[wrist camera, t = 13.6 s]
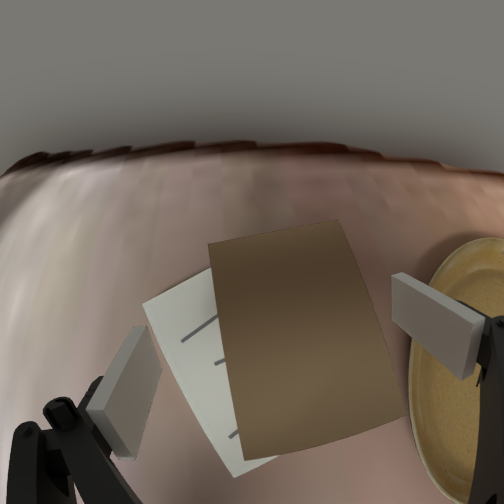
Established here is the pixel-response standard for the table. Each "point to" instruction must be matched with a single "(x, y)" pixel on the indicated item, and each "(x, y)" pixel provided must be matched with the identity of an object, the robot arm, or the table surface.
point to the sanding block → (300, 340)
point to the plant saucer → (445, 382)
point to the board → (200, 362)
